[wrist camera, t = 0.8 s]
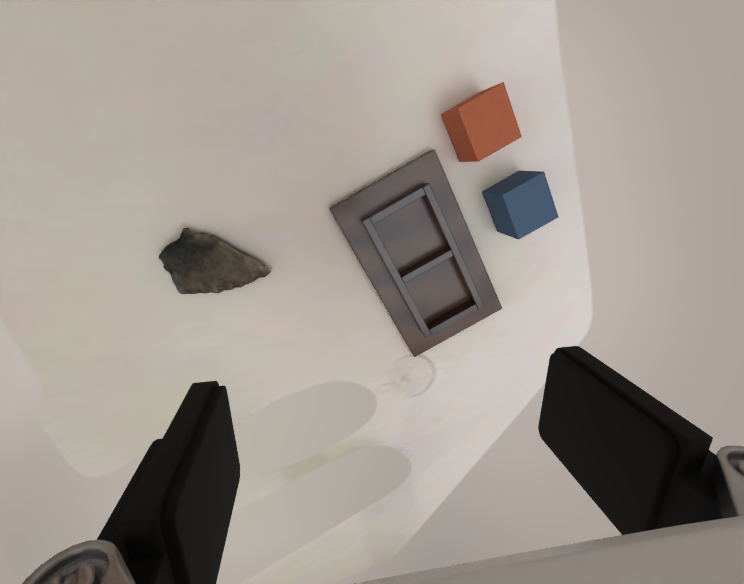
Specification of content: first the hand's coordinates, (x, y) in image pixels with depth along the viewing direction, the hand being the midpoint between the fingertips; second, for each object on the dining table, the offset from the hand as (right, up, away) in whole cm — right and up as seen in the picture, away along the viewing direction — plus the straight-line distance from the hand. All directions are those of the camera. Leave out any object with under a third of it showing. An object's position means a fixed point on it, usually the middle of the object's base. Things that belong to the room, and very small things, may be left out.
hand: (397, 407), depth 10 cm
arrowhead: (-17, +7, +27) cm, 33 cm away
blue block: (+14, +13, +30) cm, 36 cm away
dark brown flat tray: (+5, +7, +31) cm, 32 cm away
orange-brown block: (+9, +20, +27) cm, 35 cm away
